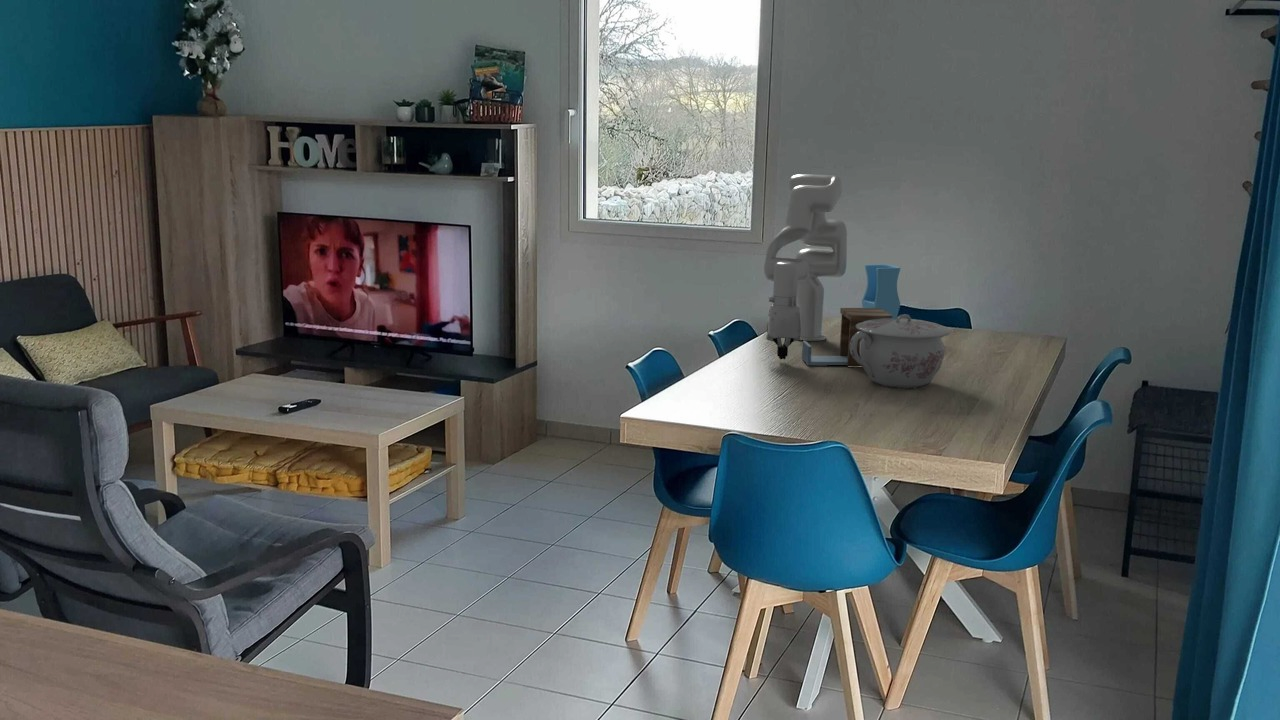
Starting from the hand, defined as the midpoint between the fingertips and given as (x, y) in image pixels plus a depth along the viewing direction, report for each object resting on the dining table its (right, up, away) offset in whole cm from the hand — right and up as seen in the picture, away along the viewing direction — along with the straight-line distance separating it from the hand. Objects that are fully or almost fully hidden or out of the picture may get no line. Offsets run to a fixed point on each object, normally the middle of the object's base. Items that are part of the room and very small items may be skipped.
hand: (782, 358), depth 362 cm
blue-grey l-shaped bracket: (+19, -1, +2) cm, 19 cm away
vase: (+41, +8, +49) cm, 64 cm away
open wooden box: (+26, -2, +2) cm, 26 cm away
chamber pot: (+31, -8, -24) cm, 40 cm away
